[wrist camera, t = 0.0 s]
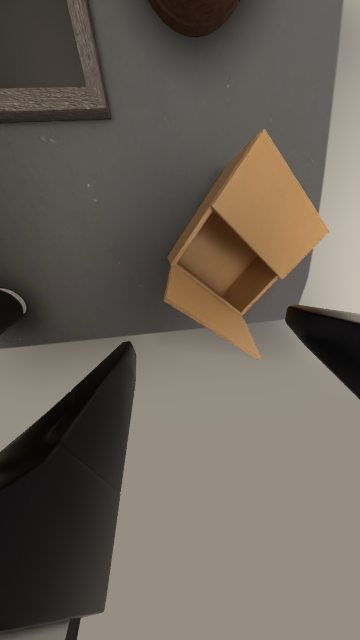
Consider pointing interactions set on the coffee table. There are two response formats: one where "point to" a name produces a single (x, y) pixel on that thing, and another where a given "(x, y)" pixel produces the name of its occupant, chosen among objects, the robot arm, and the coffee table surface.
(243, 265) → the carton
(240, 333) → the flap
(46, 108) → the picture frame
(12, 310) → the dixie cup
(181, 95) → the coffee table surface
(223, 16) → the black ball on stand
